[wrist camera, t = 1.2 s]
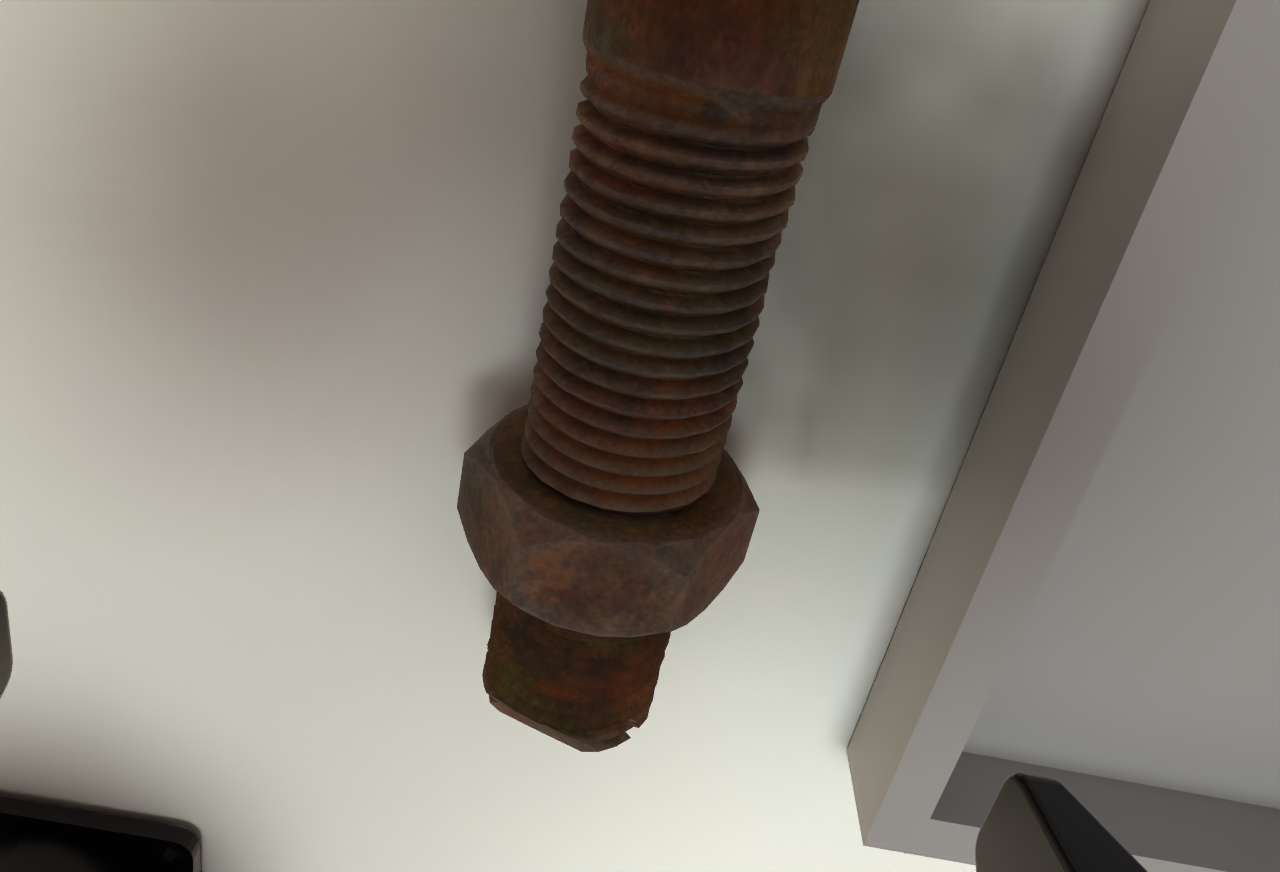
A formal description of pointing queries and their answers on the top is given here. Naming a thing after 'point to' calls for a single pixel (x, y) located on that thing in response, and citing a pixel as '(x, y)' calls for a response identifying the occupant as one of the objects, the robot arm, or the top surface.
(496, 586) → the bolt
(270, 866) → the top surface
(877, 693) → the parts tray
